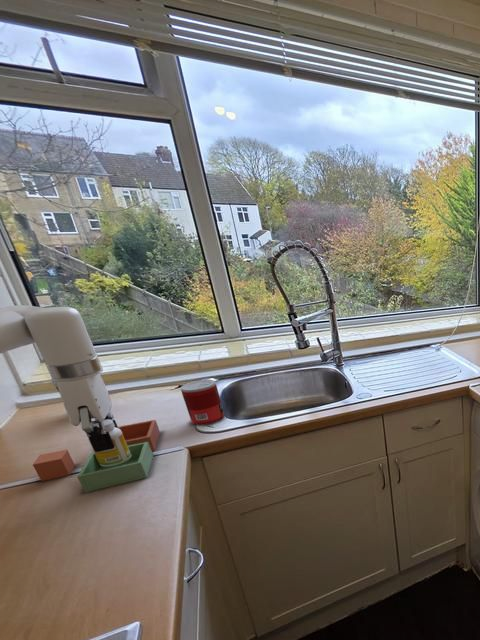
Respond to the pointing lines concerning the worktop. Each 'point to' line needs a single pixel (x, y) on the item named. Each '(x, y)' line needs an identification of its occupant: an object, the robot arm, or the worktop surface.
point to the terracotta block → (54, 465)
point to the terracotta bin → (141, 433)
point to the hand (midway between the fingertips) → (108, 442)
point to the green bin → (116, 469)
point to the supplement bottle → (119, 451)
